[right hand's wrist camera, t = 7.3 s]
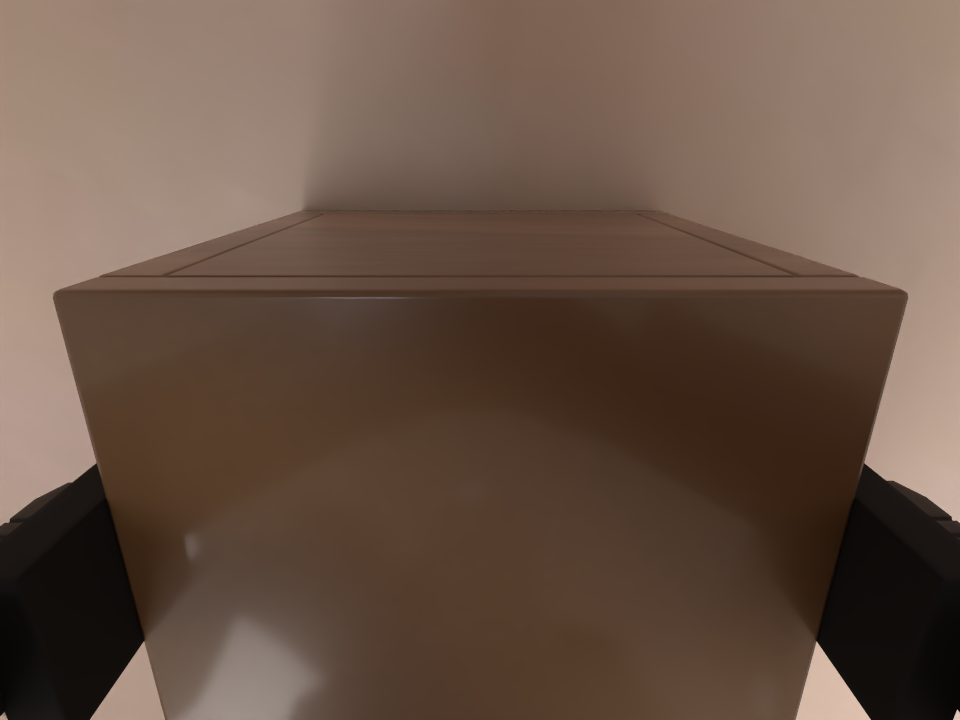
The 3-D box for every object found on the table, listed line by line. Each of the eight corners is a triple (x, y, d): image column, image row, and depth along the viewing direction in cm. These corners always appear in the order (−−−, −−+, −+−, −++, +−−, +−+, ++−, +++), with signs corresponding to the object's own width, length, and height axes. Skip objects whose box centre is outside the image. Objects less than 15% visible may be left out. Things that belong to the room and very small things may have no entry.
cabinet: (606, 720, 24) (692, 1111, 14) (354, 721, 24) (267, 1111, 14) (660, 210, 17) (913, 290, 7) (299, 210, 17) (47, 290, 7)
